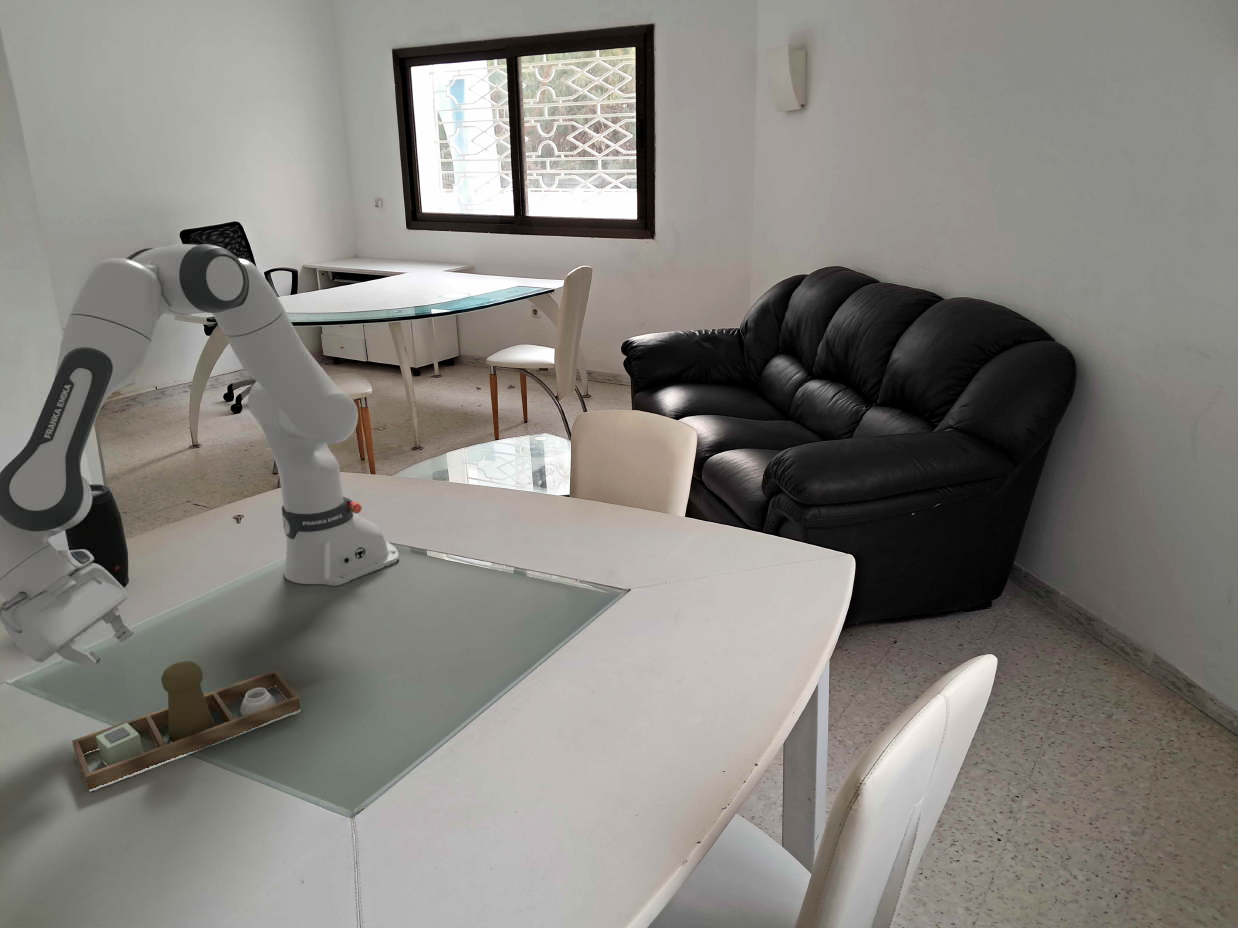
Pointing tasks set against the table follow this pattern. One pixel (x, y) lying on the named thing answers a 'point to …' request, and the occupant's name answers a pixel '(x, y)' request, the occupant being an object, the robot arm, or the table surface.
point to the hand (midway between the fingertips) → (112, 651)
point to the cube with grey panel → (119, 744)
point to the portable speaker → (102, 534)
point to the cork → (185, 700)
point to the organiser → (194, 741)
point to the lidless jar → (256, 701)
